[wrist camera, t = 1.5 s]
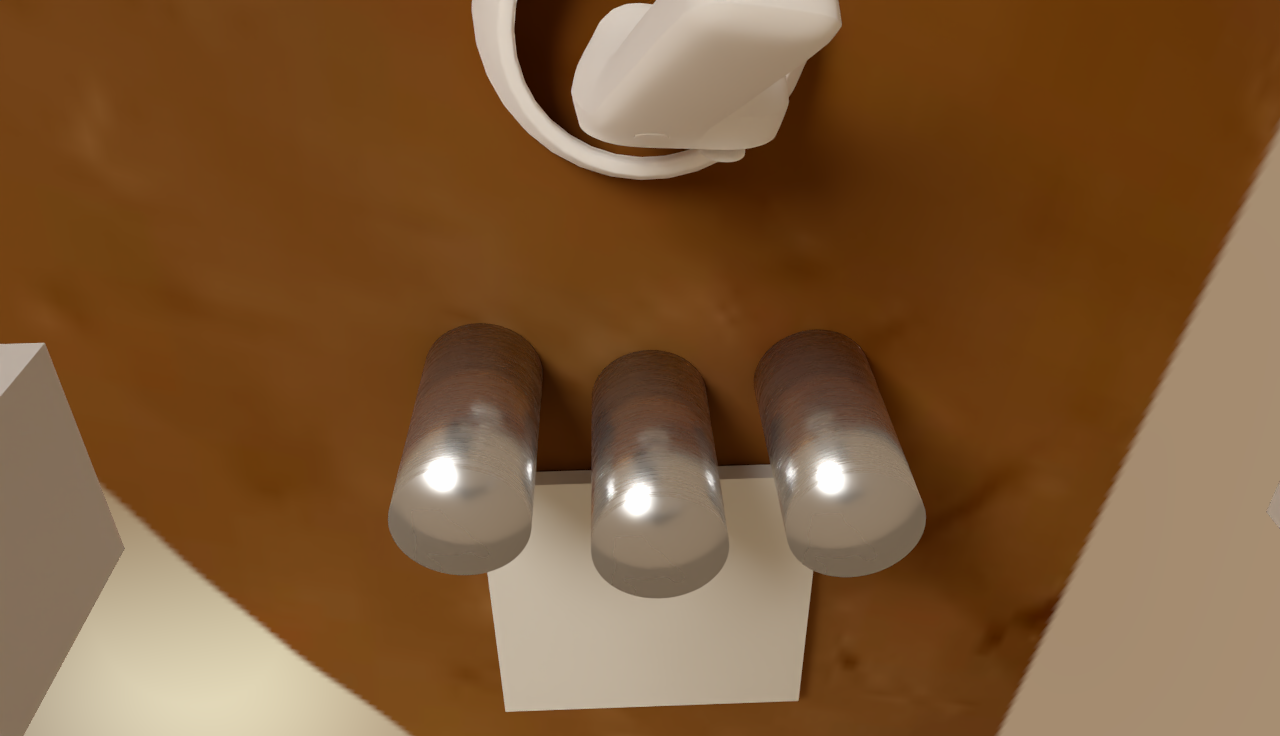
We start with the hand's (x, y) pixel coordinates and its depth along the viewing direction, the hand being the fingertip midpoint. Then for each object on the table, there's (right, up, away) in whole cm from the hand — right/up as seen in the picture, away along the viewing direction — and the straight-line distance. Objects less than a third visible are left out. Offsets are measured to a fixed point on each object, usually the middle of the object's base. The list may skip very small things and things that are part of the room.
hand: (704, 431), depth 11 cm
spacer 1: (-5, 0, +17) cm, 18 cm away
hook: (-1, +9, +12) cm, 15 cm away
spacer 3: (+4, 0, +18) cm, 18 cm away
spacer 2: (0, 0, +18) cm, 18 cm away
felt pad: (0, -6, +22) cm, 23 cm away
